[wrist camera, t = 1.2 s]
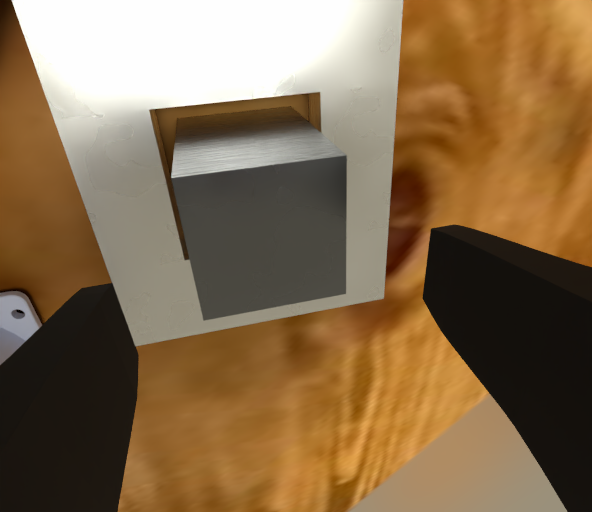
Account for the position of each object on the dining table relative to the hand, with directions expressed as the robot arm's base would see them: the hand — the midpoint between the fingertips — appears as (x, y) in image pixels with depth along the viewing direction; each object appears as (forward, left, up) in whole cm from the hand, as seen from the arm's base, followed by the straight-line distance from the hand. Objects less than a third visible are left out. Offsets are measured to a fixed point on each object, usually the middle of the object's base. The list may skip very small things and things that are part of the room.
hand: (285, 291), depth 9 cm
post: (0, 0, -10) cm, 10 cm away
